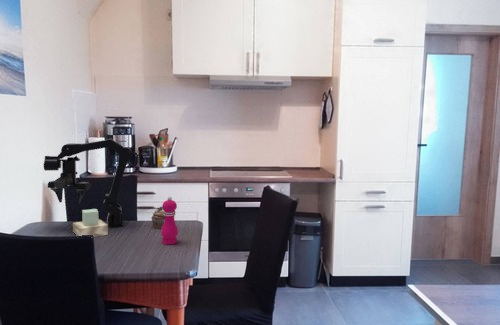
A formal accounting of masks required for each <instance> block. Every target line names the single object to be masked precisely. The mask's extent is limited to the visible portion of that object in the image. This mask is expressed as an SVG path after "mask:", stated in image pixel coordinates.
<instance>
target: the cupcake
mask: <svg viewBox="0 0 500 325" xmlns="http://www.w3.org/2000/svg"><path fill="white" fill-rule="evenodd" d="M151 222H152V228H153V229H157V230H162V227H163V225H164V222H165V215H164V210H163V208H162V206H159V207H157V208H155V209H154V212H153V213H152V216H151Z"/></svg>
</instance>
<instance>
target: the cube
mask: <svg viewBox="0 0 500 325" xmlns="http://www.w3.org/2000/svg"><path fill="white" fill-rule="evenodd" d="M81 213H82V215H81V216H82V220H81V222H83V225H84V226H90V225H99V219H100V218H99V211H98V209H97V208H91V209H82V210H81Z"/></svg>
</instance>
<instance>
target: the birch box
mask: <svg viewBox="0 0 500 325" xmlns="http://www.w3.org/2000/svg"><path fill="white" fill-rule="evenodd" d="M98 219H99V225H90V226H84V225H83V222H82V221H75V222H72V233H73V232H74V233H75V234H76V235H75V234H74V233H73V234H74V235H75V236H76V237H77V236H82V235H93V236H94V237H93V238H95V237H102V236H107V235H108V234H109V226H108V224H107V222H104V220H102V219H100V218H98Z"/></svg>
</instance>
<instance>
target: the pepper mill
mask: <svg viewBox="0 0 500 325" xmlns="http://www.w3.org/2000/svg"><path fill="white" fill-rule="evenodd" d="M166 199H167V200H165V201H164V202H163V203H162V206H161V207H162V208H163V210H164V215H165V222H164V225H163V227H162V229H160V230H161V231H160V235H161V236H162V239H161V243H162V244H163V245H174V244H177V243H178V238H177V236H178V235H179V228H178V227H177V224H176V220H175V217H176V216H175V215H176V210H177V208H178V206H177V202H176V201H175V200H173V199H172V196H167V198H166Z"/></svg>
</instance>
